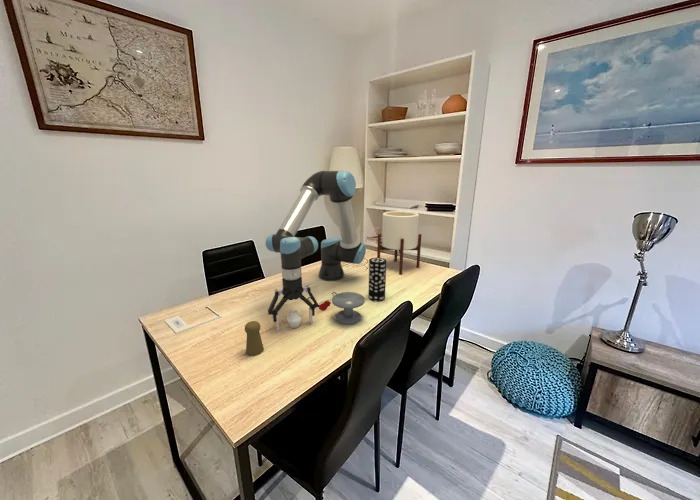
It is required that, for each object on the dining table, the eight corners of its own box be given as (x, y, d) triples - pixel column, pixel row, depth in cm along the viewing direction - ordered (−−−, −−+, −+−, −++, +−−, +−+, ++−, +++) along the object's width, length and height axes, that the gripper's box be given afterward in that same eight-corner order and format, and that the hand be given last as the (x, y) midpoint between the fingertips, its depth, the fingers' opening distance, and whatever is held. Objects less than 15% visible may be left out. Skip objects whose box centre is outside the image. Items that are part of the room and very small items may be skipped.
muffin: (289, 321, 120) (288, 306, 118) (304, 322, 120) (303, 307, 118) (285, 329, 114) (284, 313, 112) (300, 330, 114) (299, 314, 112)
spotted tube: (384, 302, 138) (385, 263, 132) (367, 300, 139) (368, 262, 134) (385, 295, 146) (387, 258, 140) (369, 293, 147) (370, 257, 142)
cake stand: (328, 313, 128) (328, 294, 125) (357, 308, 132) (357, 290, 130) (337, 328, 115) (337, 308, 112) (369, 322, 119) (369, 303, 117)
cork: (248, 346, 103) (245, 319, 101) (265, 345, 104) (262, 318, 101) (243, 356, 98) (240, 328, 95) (261, 355, 98) (259, 327, 95)
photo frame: (164, 319, 121) (208, 305, 133) (164, 322, 121) (208, 307, 134) (175, 332, 111) (221, 315, 124) (176, 334, 111) (222, 318, 124)
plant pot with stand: (374, 267, 188) (375, 213, 179) (395, 260, 203) (397, 210, 193) (401, 276, 172) (404, 217, 163) (422, 267, 187) (426, 213, 177)
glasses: (318, 313, 128) (318, 303, 127) (307, 299, 142) (306, 290, 141) (346, 306, 134) (346, 297, 133) (332, 294, 148) (332, 285, 147)
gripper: (259, 284, 104) (263, 335, 109) (325, 276, 112) (326, 324, 117) (258, 277, 110) (262, 326, 116) (320, 270, 119) (322, 316, 124)
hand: (294, 325), depth 117 cm, fingers open, 13 cm apart
